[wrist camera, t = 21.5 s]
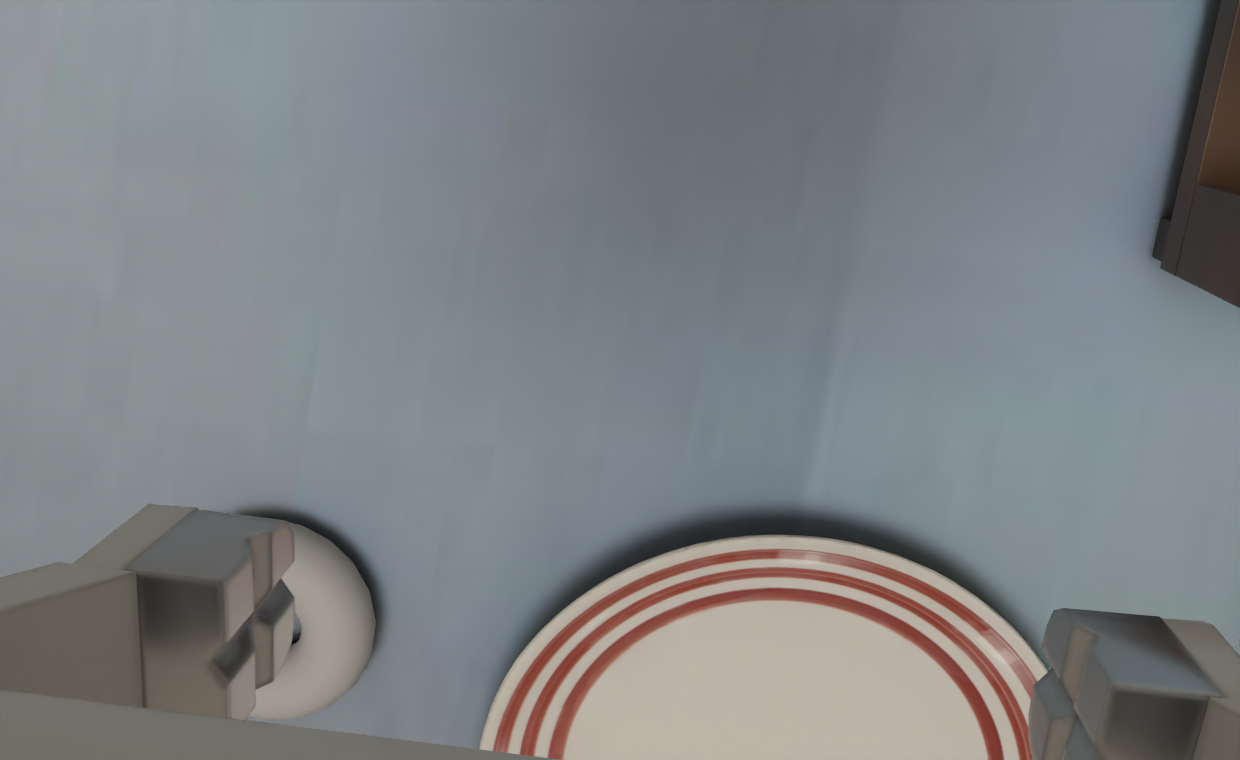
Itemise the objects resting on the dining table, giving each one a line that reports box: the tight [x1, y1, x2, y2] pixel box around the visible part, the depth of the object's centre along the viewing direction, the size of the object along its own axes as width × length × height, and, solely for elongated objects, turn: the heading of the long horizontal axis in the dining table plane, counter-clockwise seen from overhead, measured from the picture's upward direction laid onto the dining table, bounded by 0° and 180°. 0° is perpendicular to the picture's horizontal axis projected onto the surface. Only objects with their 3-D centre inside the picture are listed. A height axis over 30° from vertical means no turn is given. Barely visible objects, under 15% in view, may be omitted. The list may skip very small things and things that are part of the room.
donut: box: [249, 518, 376, 720], centre depth 51 cm, size 10×4×10 cm
